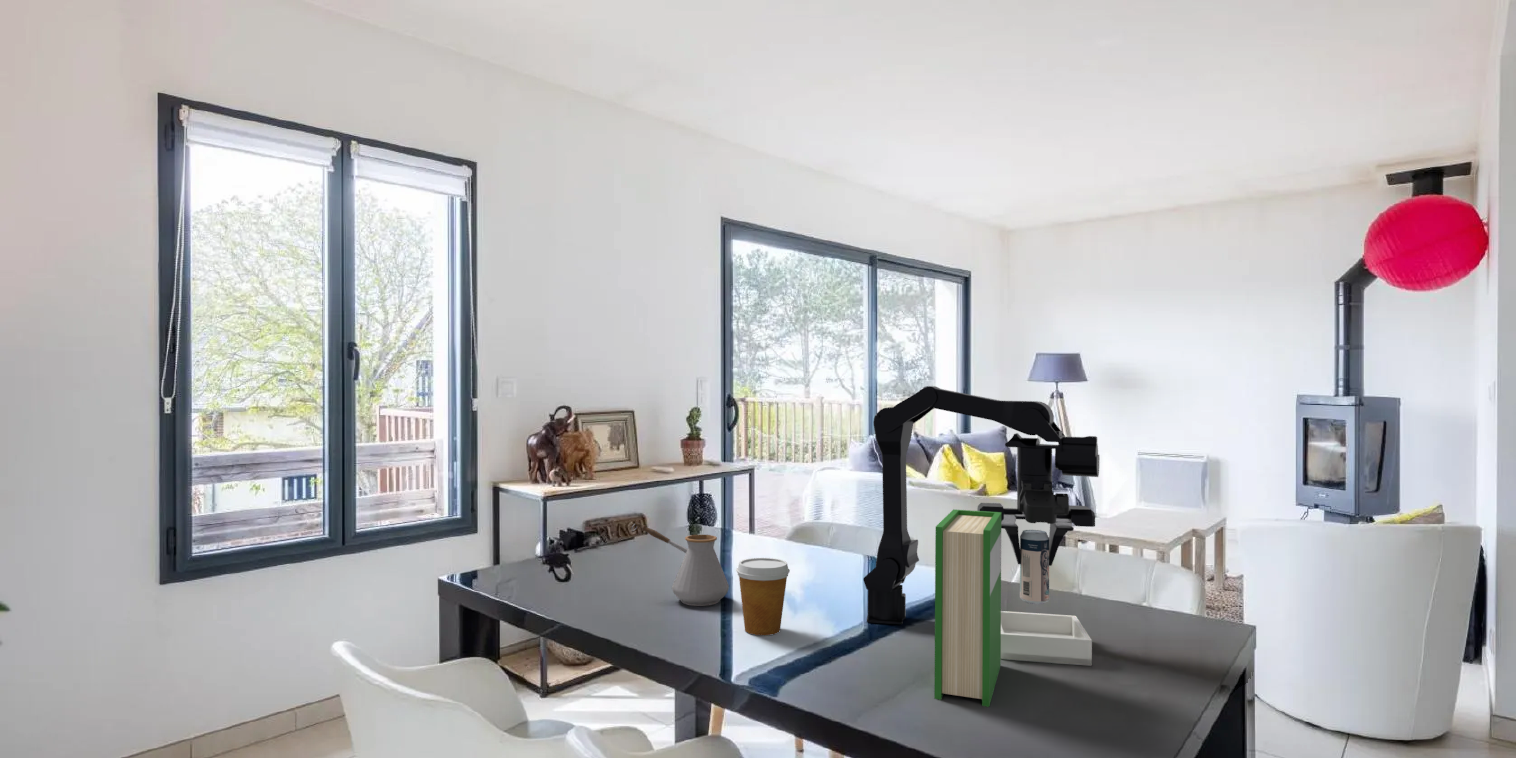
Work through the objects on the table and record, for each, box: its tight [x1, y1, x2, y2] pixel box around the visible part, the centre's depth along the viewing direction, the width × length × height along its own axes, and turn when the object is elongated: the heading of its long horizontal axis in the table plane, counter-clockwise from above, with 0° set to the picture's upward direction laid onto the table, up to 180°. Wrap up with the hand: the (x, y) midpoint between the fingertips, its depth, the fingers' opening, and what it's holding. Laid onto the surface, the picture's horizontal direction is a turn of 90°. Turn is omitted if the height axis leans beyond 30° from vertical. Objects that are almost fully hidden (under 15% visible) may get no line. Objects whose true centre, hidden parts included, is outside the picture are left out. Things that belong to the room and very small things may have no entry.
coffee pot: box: [630, 521, 730, 607], centre depth 165 cm, size 21×12×15 cm, turn 70°
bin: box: [1001, 610, 1093, 667], centre depth 135 cm, size 14×14×4 cm
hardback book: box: [933, 508, 1002, 708], centre depth 120 cm, size 18×7×24 cm, turn 158°
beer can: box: [1019, 529, 1050, 605], centre depth 139 cm, size 5×5×12 cm
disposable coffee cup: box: [735, 557, 791, 636], centre depth 144 cm, size 10×10×12 cm
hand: (1034, 564), depth 139 cm, fingers closed on beer can, 5 cm apart
